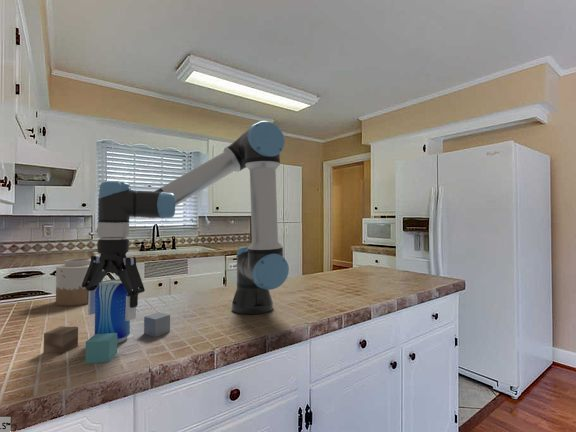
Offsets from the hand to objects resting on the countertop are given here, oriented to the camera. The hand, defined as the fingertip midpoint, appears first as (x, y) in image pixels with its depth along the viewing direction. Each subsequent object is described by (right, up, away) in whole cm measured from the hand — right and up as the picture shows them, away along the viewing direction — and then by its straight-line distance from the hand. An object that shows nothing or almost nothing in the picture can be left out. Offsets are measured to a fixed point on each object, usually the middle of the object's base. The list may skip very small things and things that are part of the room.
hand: (111, 316), depth 86 cm
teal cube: (+4, -7, -11) cm, 13 cm away
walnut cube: (-9, -7, -6) cm, 13 cm away
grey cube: (+10, -7, +6) cm, 13 cm away
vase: (-36, -7, +41) cm, 55 cm away
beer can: (0, -7, 0) cm, 7 cm away
